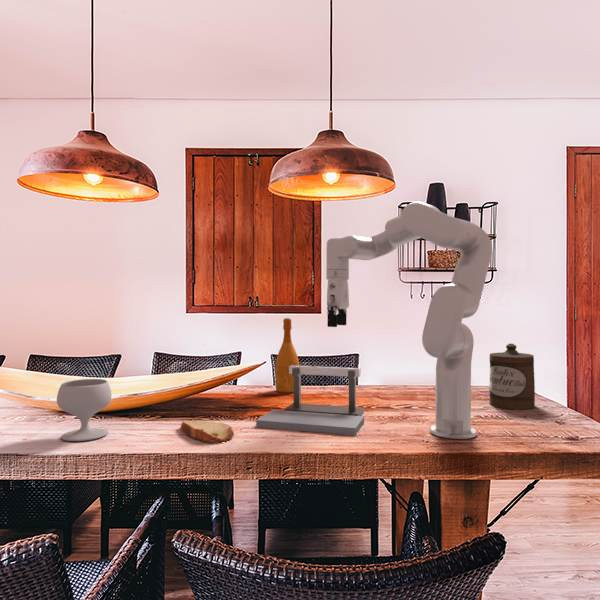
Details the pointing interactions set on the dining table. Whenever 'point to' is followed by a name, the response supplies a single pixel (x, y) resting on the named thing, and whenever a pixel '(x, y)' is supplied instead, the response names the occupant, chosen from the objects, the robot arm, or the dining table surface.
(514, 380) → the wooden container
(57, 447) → the dining table surface
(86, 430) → the chalice
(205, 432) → the bread slice
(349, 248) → the robot arm
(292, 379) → the wine bottle
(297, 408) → the rack
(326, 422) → the board
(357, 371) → the rail
